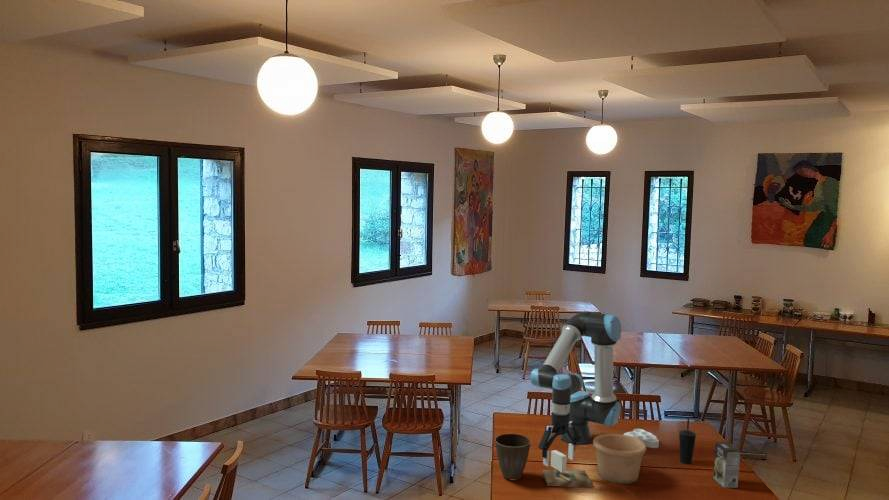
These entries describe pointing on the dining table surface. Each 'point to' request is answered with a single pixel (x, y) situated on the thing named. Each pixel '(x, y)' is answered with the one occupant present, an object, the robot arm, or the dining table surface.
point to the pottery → (618, 457)
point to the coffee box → (726, 464)
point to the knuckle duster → (644, 437)
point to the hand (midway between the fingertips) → (558, 462)
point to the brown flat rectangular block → (576, 477)
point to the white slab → (559, 463)
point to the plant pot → (512, 454)
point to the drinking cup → (686, 444)
